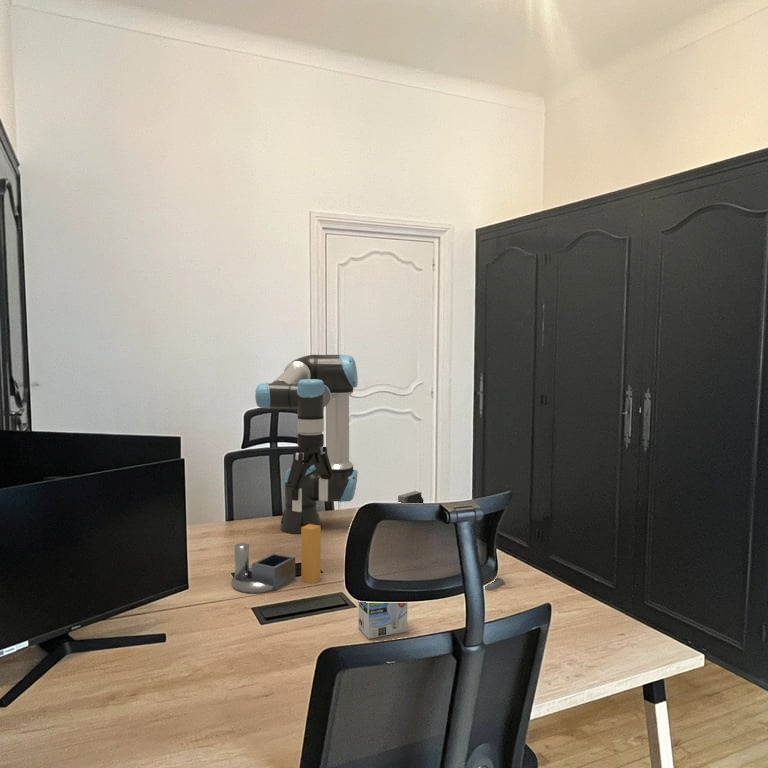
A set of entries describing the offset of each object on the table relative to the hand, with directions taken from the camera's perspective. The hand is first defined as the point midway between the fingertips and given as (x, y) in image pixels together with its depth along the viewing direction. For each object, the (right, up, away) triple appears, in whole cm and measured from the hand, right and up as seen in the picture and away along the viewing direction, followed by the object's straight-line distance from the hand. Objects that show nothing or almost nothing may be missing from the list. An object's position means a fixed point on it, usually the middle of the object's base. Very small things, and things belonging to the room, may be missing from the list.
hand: (310, 505), depth 184 cm
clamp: (+41, -22, +9) cm, 48 cm away
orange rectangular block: (0, -22, +2) cm, 22 cm away
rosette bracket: (-15, -22, -1) cm, 27 cm away
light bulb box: (+21, -25, -29) cm, 44 cm away
